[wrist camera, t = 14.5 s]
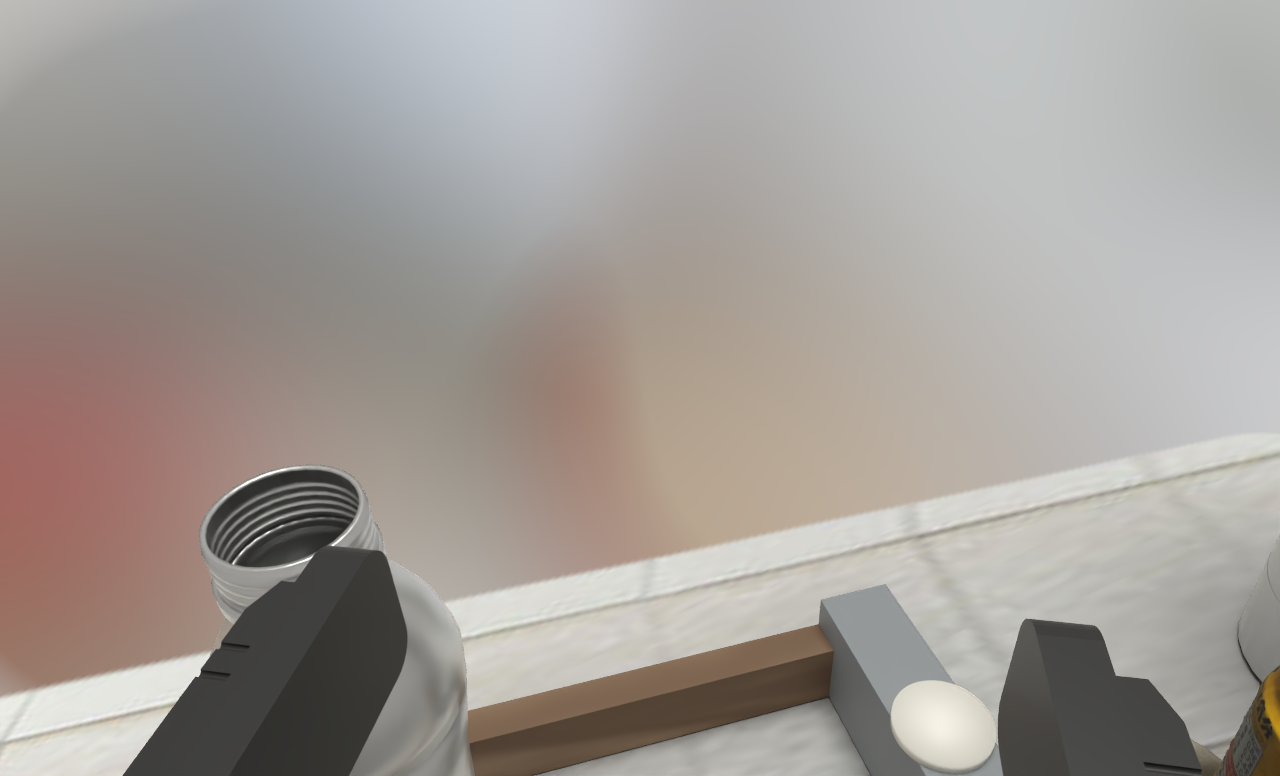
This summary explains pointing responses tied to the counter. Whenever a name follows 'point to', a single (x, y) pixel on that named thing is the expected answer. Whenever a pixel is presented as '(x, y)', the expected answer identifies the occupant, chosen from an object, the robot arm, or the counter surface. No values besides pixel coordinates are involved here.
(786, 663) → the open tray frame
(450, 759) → the plastic bottle
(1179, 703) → the counter surface
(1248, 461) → the counter surface
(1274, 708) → the condiment
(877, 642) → the grey beam
